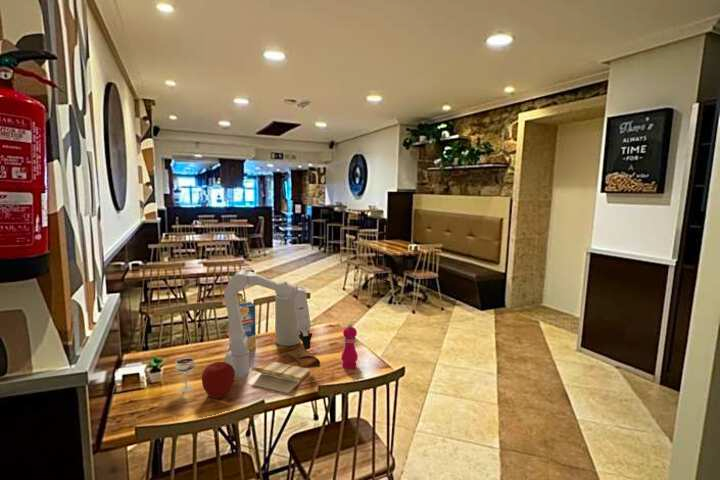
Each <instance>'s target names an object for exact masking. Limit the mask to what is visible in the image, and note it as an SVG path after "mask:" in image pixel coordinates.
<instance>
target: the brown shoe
mask: <svg viewBox="0 0 720 480" xmlns="http://www.w3.org/2000/svg"><path fill="white" fill-rule="evenodd" d="M288 357H289V358H291V359H293V360H294V361H295V362H296V363H297V364H298V365H299V367H302V368H307V369H308V368H310V367H315V366H317V365H319V366H320V364H321V362H320V360H319V358H317V357H316V356H314V354H313V353H311V352H310V351H308V349H307V350H305V348H304V346H303V345H301V344H300V345H299V346H298V347H297V348H296V349H294V350H293V351H292V352H290V353H289V354H288Z"/></svg>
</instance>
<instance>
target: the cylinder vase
mask: <svg viewBox="0 0 720 480" xmlns="http://www.w3.org/2000/svg"><path fill="white" fill-rule="evenodd" d="M274 297H275V301H274V303H275V305H274V306H275V311H274V312H275V343H276V344H277V345H279V346H281V347H292V346H296V345H297V344H299V343H300V342H301V339H300V338H299V334H301V333H300V331H299V330H298V329H297V320H296V313H295V302H294V301H293V299H288V298H285V297H283V296H280V295H277V294H276V293H275V296H274Z"/></svg>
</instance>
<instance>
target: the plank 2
mask: <svg viewBox="0 0 720 480" xmlns="http://www.w3.org/2000/svg"><path fill="white" fill-rule="evenodd" d="M272 375H275V376H278V377H281V378H285V379H290V380H294V381H299V383H300V382H301V381H300V378H298V377H295V376H293V375H288V374H283V373H279V372H274V371H273V372H272Z"/></svg>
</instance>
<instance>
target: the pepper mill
mask: <svg viewBox="0 0 720 480" xmlns="http://www.w3.org/2000/svg"><path fill="white" fill-rule="evenodd" d="M342 331H343V332H342V334H343V337H344V338H343V341H344V343H345V344H344V348H343V351H342V353H341V361H342V365H341V367H342V368H343V369H346V370H354V369H356V368H357V360H358V352H357V350H356V348H355V342H356V339H357V338H356V337H357V334H358V331H357V329H356V328H355V327H354V326H353V324H352V323H348V325H347V326H346V327H345V328H344V329H343V330H342Z"/></svg>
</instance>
